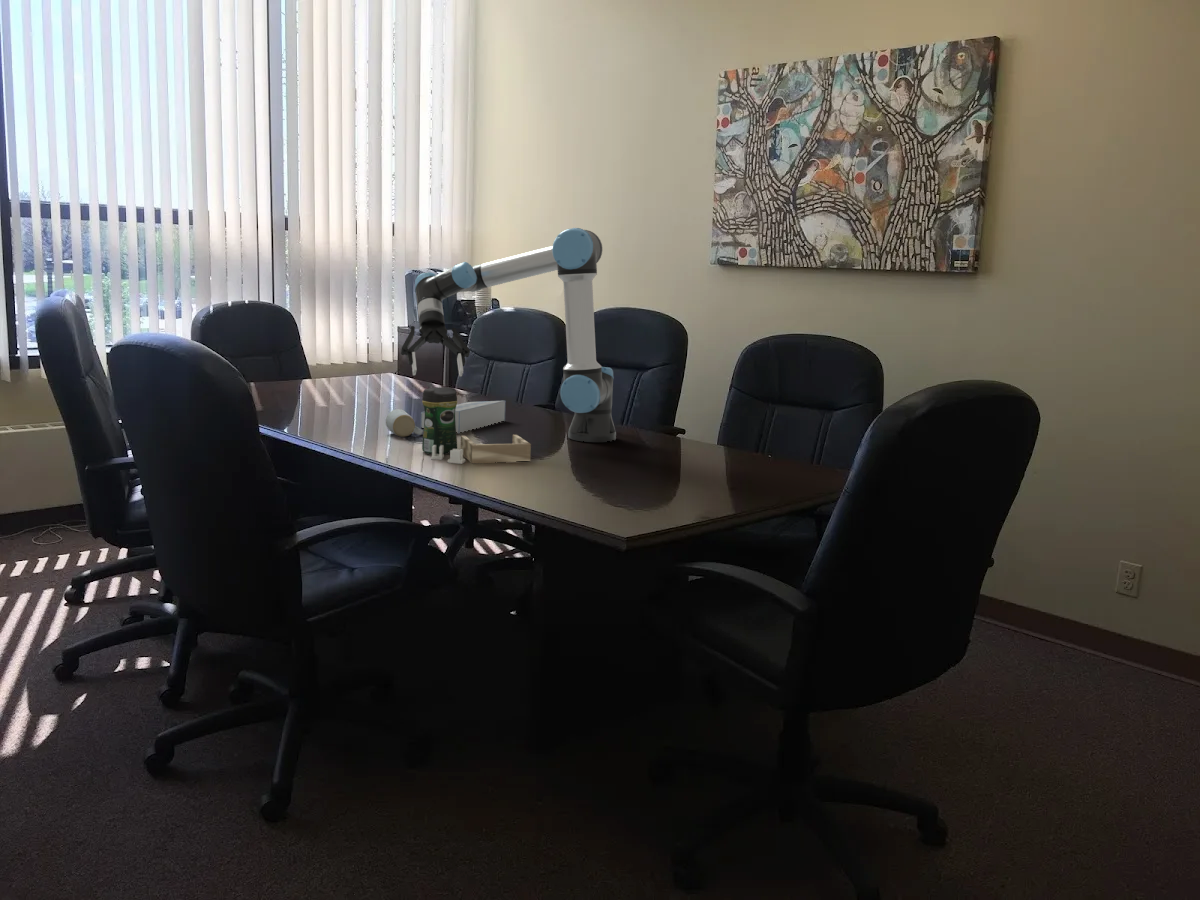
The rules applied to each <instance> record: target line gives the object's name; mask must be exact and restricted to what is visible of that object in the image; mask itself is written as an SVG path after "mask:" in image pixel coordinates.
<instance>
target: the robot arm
mask: <svg viewBox="0 0 1200 900" xmlns="http://www.w3.org/2000/svg"><path fill="white" fill-rule="evenodd" d="M602 255H603V243H602V241H601V239H600V237H599V236H598V235H597V234H596V233H594V232H593V231H591V230H587V229H583V228H579V227H572V228H567V229H564V230H563V231H561V232H559V234H557V236H556V237H555V238H554V240H553V243H552V245H550V246H547V247H543V248H538V249H534V250H531V251H527V252H523V253H520V254H515V255H512V256H508V257H504V258H501V259H500V258H499V259H496V260H492V261H489V262H485V263H480V264H476V265H471V264H470V263H469V262H466V261H463V262H461V263H458V264H457V263H456V264H454V266H452V267H450V268H448V269H445V270H443V271H442V272H440V273H438V274H436V273H433V272H429V271H427V272H426V273H425V272H422V273H421V274H418V275H417V277H416V278H415V281H414V284H415V287H414V292H415V297H416V303H417V304H416V305H417V314H418V321H419V328H416V327H415V326H414V325H411V326H410V328H409V333H408V336H407V337H406V339H405V341H404V342H403V345H401V349H400V355H401V356H404V355H405V356H406V358H407V364H408V365H410V366H411V368H412V370H411V371H412V376H416V375H417V371H418V370H417V359H416V352H417V351H418V350H419V349H420V348H421V347H422V346H423V345H425V344H426V342H427V343H428V344H442V346H445V347H446V348H447V349H448V350H450V351H451V352H452V353H453V354H454V355H455V356H456V361H457V362H456V363H457V370H458V376H459V377H463V374H464V367H465V365H466V358H469V356H470V352H471V350H470V348H469V346H467V344H466V343H465V342H464V340H463V339H462V337H461V336H460V335H459V334H458V330H457V328H455V327H452V328H451V329H447V328H446V323H445V316H444V309H443V300H445V299H447V298H450V297H451V296H454V295H455V294H457V293H461V292H463V293H464V292H465V293H466V292H472V293H473V292H474V293H475V292H479V291H480V290H484V289H488V288H491V287H495V286H499V285H502V284H503V285H504V284H506V283H511V282H514V281H519V280H522V279H527V278H530V277H534V276H538V275H542V274H546V273H551V272H555V271H557V277H558V278H560V280H562V282H563V283H562V284H563V298H564V299H563V300H564V317H565V337H566V338H565V339H566V354H567V355H566V357H567V363H566V364H565V365H564V366H563V368H562V371H563V372H562V374H563V382H562V384H561V386H560V389H559V390H560V392H559V393H560V399H561V402H562V404H563V405H564V406H565V407H566V408H567V409H568V410H569V411H571V412H574V414H573V418H572V420H571V423H570V426H569V428H568V433H567V434H568V436H567V437H568V439H571V440H573V441H578V442H583V441H584V442H585V443H608V442H607V441H610V442H613V441H612V440H614V441H616V439H617V437H616V436H617V432H616V428H615V425H614V420H613V417H612V406H613V389H614V387H613V386H614V379H615V376H614V370H613V369H612V368H611V367H608V366H607V367H605V366H602V365H601V364H600V363H599V362H598V361H597V353H596V352H597V350H596V332H595V331H596V329H595V313H594V312H595V309H594V292H593V291H594V290H593V279H594V278H595V277H596V276H597V275H598V265H597V264H598V262H599V261H600V259H601V258H602ZM417 334H418V335H419V338H418V339H417V340H416V341H415V342H414V343H413V344H412V341H413V339H414V337H416V336H417ZM450 338H451V339H452V340H451V339H450ZM411 344H412V345H411ZM410 345H411V346H410ZM584 442H583V443H584Z"/></svg>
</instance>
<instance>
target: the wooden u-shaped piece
mask: <svg viewBox="0 0 1200 900" xmlns="http://www.w3.org/2000/svg"><path fill="white" fill-rule="evenodd" d="M531 446H532V444H531V443H530V442H528V441H527V440H525V439H524V438H522V437H521V436H519V435H518V434H512V443H485V444H483V443H482V444H479V443H477V444H476V443H475V442H474V441H473V440H471V439H470V438H469V437H468V436H466V435H460V449H463V457H464V458H466V460H468V461H469V462H470V464H498V463H497V462H506V463H517V462H516V461H530V462H531V455H532V453H531V451H532V449H531V448H532V447H531ZM495 462H496V463H495Z"/></svg>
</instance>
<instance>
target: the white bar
mask: <svg viewBox="0 0 1200 900" xmlns="http://www.w3.org/2000/svg"><path fill="white" fill-rule="evenodd" d="M506 404H507V403H506V400H490V401H488V400H486V401H485V400H483V401H482V400H481V401H467V402H462V403H457V405H456V409H455V424H456V432H457V433H456V434H461V433H460V432H462V433H465V432H464V431H466V432H468V430H470V431H472V429H474V430H476V428H477V429H481V428H484V426H485V427H488V425H489V426H491V424H492V425H495V424H494V423H496V424H499V423H498V422H500V423H502V422H501V421H504V422H505V421H506ZM424 419H425V411H421V412H420V428H421V427H422V428H424ZM480 427H481V428H480Z"/></svg>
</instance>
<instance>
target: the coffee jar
mask: <svg viewBox="0 0 1200 900" xmlns="http://www.w3.org/2000/svg"><path fill="white" fill-rule="evenodd" d="M421 403H422V406H423V408H424V412H425V419H424V429H423V433H422V442H421V443H422V444H421V450H422V451H423V452H424V453H425V454H428V455H432V446H433V445H436V454H439V447H440V446H441V445H444V447H443V454H444V455H448V454H450V450H453V449H458V437H457V433H456V424H455V409H456V405H457V404H458V394H457V390H456V388H451V387H446V386H445V387H443V386H441V387H432V388H430V387H429V388H425V389H424V390H423V392H422V401H421Z"/></svg>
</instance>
